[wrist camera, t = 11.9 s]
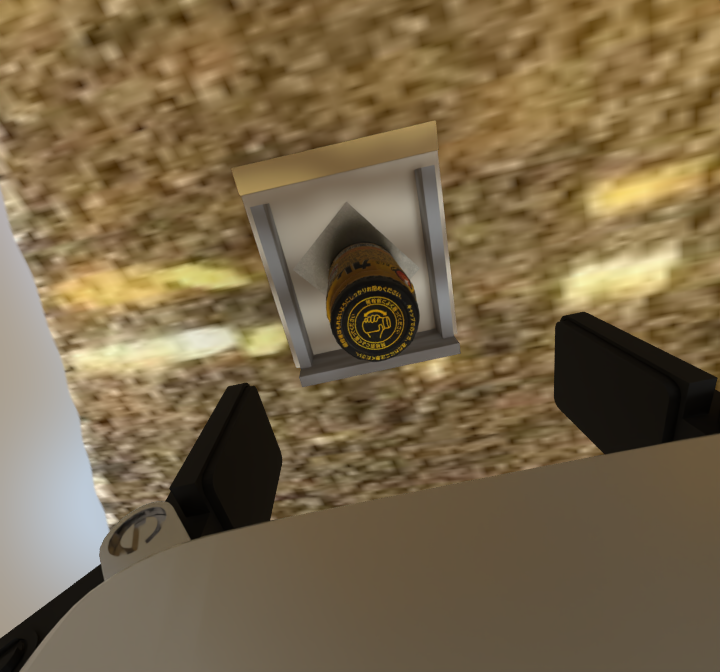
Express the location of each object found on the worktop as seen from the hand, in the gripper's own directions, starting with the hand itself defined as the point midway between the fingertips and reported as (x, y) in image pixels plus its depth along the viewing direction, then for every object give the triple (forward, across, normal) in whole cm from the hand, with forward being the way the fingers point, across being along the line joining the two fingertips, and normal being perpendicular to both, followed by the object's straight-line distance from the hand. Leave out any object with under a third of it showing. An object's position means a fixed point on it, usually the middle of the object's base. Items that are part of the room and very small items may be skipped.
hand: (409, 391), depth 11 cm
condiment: (+22, +1, 0) cm, 22 cm away
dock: (+24, +1, 0) cm, 24 cm away
